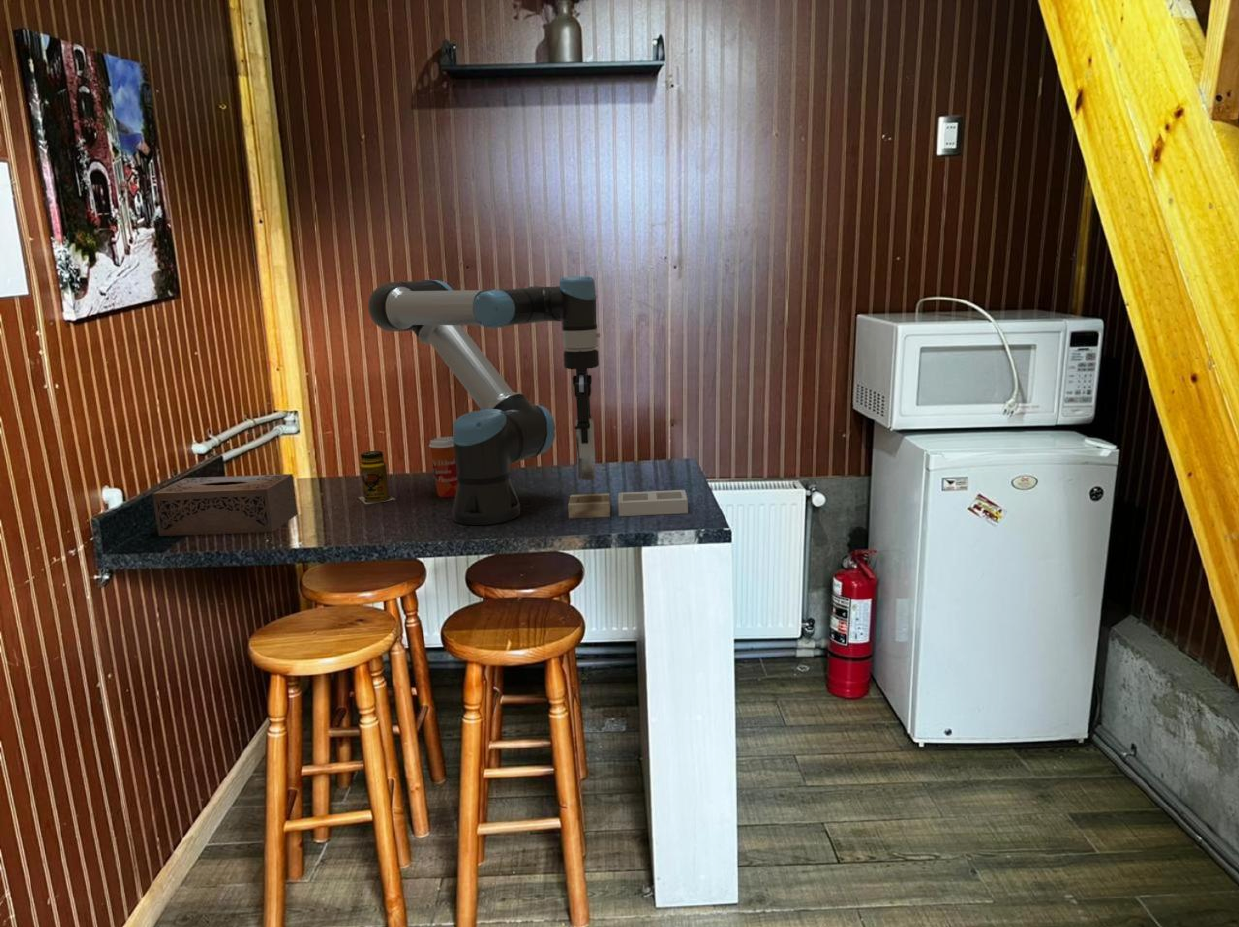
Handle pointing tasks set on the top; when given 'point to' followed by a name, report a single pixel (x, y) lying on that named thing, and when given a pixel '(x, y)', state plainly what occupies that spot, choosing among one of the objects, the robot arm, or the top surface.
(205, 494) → the tissue box cover
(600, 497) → the socket block
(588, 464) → the grey peg
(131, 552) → the top surface
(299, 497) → the top surface
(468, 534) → the top surface
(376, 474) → the condiment
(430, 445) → the paper cup
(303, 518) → the top surface
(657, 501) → the rack
